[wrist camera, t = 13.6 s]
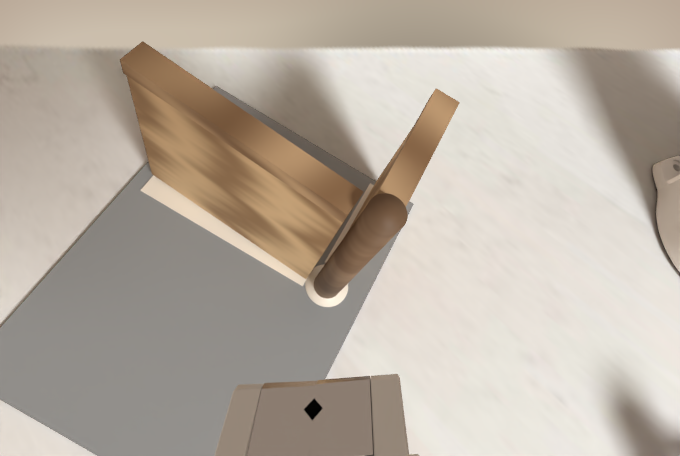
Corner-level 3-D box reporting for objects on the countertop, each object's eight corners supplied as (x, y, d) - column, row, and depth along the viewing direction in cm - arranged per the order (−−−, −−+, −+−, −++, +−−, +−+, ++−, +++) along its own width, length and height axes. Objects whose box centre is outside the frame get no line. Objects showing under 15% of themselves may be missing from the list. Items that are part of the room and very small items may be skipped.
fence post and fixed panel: (369, 184, 38) (440, 75, 26) (389, 197, 38) (470, 93, 26) (307, 290, 34) (360, 217, 22) (331, 304, 34) (397, 239, 22)
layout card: (215, 87, 38) (215, 84, 38) (412, 204, 39) (414, 203, 38) (-41, 375, 27) (-43, 374, 26) (243, 539, 27) (243, 540, 27)
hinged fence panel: (316, 263, 34) (363, 191, 23) (304, 281, 33) (347, 214, 23) (165, 160, 34) (142, 41, 23) (150, 175, 33) (119, 59, 23)
